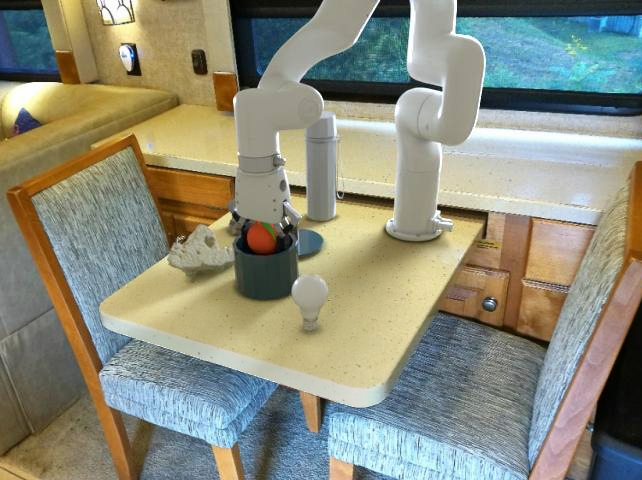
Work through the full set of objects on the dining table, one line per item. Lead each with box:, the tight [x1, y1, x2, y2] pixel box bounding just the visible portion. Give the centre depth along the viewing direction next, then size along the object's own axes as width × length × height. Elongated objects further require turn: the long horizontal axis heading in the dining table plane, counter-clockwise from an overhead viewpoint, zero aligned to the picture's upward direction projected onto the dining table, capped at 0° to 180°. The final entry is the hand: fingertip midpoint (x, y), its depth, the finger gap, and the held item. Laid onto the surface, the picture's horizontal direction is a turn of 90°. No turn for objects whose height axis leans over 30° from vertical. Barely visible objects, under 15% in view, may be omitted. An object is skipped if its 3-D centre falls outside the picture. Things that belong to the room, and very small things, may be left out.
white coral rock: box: [166, 223, 234, 281], centre depth 126 cm, size 15×7×15 cm
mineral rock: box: [228, 216, 257, 236], centre depth 143 cm, size 11×4×8 cm
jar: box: [231, 232, 300, 301], centre depth 119 cm, size 13×13×10 cm
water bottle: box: [304, 110, 345, 222], centre depth 141 cm, size 9×8×25 cm
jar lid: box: [287, 220, 325, 259], centre depth 134 cm, size 14×14×6 cm
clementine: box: [247, 221, 278, 255], centre depth 116 cm, size 8×7×7 cm
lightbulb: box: [291, 273, 329, 332], centre depth 104 cm, size 6×6×11 cm
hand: (265, 247), depth 117 cm, fingers closed on clementine, 7 cm apart
